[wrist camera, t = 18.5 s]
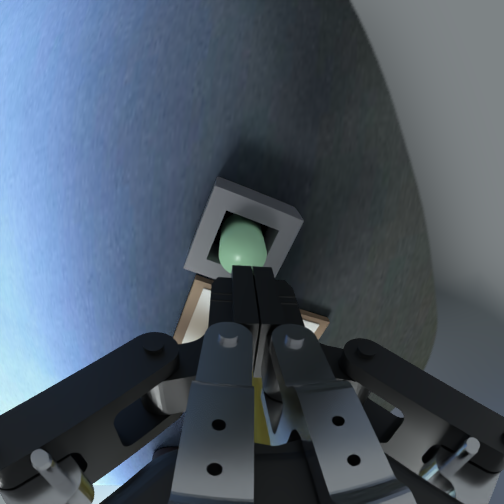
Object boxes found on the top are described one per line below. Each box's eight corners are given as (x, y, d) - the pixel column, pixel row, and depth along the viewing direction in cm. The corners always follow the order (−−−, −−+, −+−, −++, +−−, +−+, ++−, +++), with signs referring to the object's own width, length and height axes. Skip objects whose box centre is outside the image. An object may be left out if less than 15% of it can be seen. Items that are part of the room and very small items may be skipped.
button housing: (217, 176, 18) (214, 185, 16) (295, 207, 19) (303, 220, 17) (188, 249, 20) (183, 268, 17) (261, 275, 21) (265, 296, 18)
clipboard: (196, 274, 20) (194, 285, 19) (327, 317, 23) (332, 329, 21) (160, 372, 24) (158, 384, 23) (270, 399, 26) (271, 411, 25)
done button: (229, 206, 18) (229, 225, 15) (268, 221, 19) (274, 242, 16) (215, 242, 19) (211, 267, 16) (251, 255, 19) (255, 282, 17)
